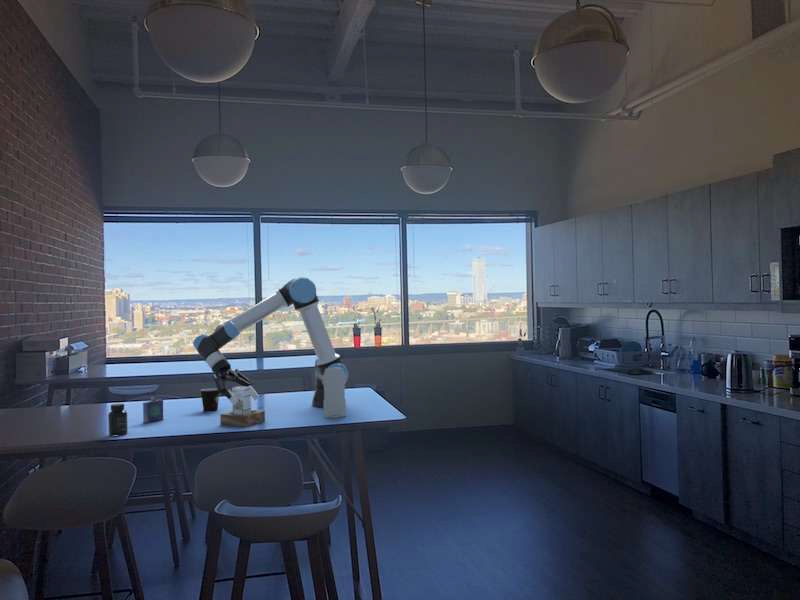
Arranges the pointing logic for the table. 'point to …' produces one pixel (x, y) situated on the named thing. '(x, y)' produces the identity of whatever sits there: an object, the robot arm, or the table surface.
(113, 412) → the supplement bottle
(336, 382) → the tall pale column
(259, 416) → the socket block
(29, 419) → the table surface
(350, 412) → the table surface
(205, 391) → the coffee mug
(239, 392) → the white printed canister
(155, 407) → the flask
